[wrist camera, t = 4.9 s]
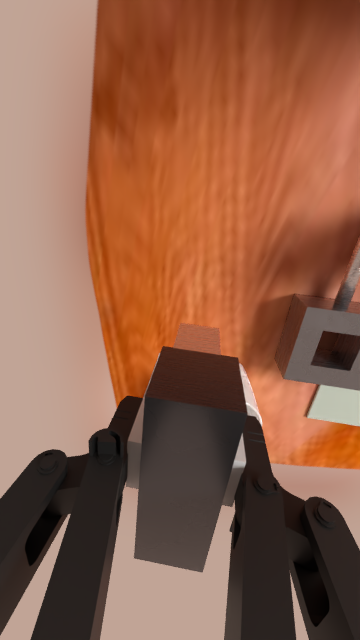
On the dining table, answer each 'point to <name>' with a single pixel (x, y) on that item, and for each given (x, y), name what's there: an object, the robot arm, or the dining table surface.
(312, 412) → the mat
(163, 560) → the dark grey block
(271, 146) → the dining table surface
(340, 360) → the block
